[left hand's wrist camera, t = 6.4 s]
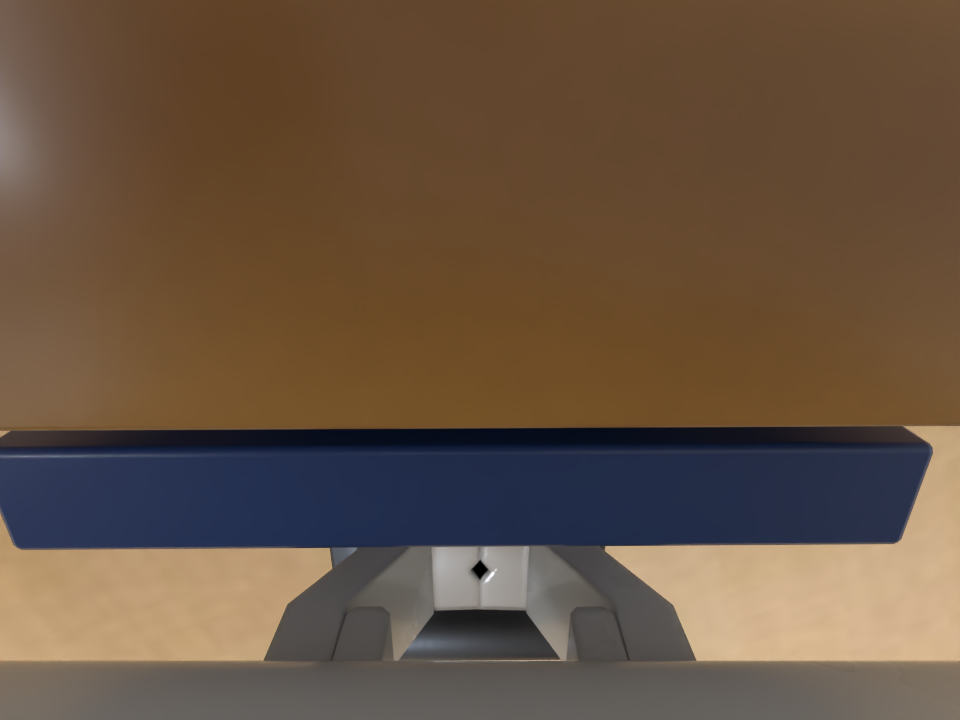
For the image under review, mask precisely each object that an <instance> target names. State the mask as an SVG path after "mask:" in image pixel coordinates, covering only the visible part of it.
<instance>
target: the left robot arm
mask: <svg viewBox="0 0 960 720" xmlns="http://www.w3.org/2000/svg"><path fill="white" fill-rule="evenodd" d="M471 609H488V610H524V611H526V613H527V614H528V616H529V617H530V618H531V620H532V621H533V622H534V624H535V625H536V626H537V628H538V629H539V631H540V632H541V633H542V635H543V636H544V637H545V639H546V640H547V641H548V643H549V644H550V645H551V647H552V648H553V649H554V651H555V652H556V653H557V655H558V656H559V657H560V659H561V660H562V661H398V660H399V659H400V658H401V656H402V655H403V654H404V652H405V651H406V650H407V648H408V647H409V646H410V644H411V643H412V642H413V640H414V639H415V638H416V636H417V635H418V634H419V632H420V631H421V630H422V628H423V627H424V626H425V624H426V623H427V622H428V620H429V619H430V618H431V616H432V615H433V614H434V611H436V610H471ZM0 720H960V661H696V659H695V656H694V654H693V651H692V649H691V647H690V644H689V642H688V640H687V637H686V635H685V633H684V630H683V628H682V625H681V623H680V621H679V618H678V616H677V614H676V611H675V609H674V606H673V605H672V604H671V603H670V602H668V601H667V600H666V599H665V598H663V597H662V596H661V595H659V594H658V593H657V592H656V591H654V590H653V589H652V588H651V587H649V586H648V585H647V584H646V583H644V582H643V581H642V580H641V579H639V578H638V577H637V576H636V575H634V574H633V573H632V572H630V571H629V570H628V569H627V568H625V567H624V566H623V565H622V564H620V563H619V562H618V561H617V560H615V559H614V558H613V557H612V556H610V555H609V554H608V553H607V552H605V551H604V550H603V549H601V548H600V547H599V546H511V547H361V548H358V549H357V550H356V551H355V552H353V553H352V554H351V555H350V556H348V557H347V558H346V559H345V560H343V561H342V562H341V563H339V564H338V565H337V566H336V567H334V568H333V569H332V570H331V571H329V572H328V573H327V574H326V575H324V576H323V577H322V578H320V579H319V580H318V581H317V582H315V583H314V584H313V585H312V586H310V587H309V588H308V589H307V590H305V591H304V592H303V593H301V594H300V595H299V596H298V597H296V598H295V599H294V600H293V601H291V602H290V603H289V604H288V605H287V607H286V609H285V612H284V614H283V616H282V619H281V621H280V623H279V626H278V628H277V630H276V633H275V635H274V637H273V640H272V642H271V644H270V647H269V649H268V651H267V654H266V656H265V658H264V661H0Z"/></svg>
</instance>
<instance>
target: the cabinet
mask: <svg viewBox="0 0 960 720" xmlns="http://www.w3.org/2000/svg"><path fill="white" fill-rule="evenodd" d="M822 426H960V0H0V431H47V430H241V429H434V428H628V427H822Z"/></svg>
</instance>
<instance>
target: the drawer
mask: <svg viewBox="0 0 960 720" xmlns="http://www.w3.org/2000/svg"><path fill="white" fill-rule="evenodd" d="M932 454H933V450H932V446H931V445H930V444H929V443H928V442H926V441H925V440H923V439H922V438H920V437H919V436H917V435H916V434H914V433H912V432H911V431H909V430H908V429H906V428H905V427H903V426H822V427H628V428H434V429H241V430H47V431H10V432H8V433H6V434H5V435H3V436H2V437H0V513H1V516H2V518H3V520H4V523H5V525H6V528H7V530H8V532H9V535H10V537H11V540H12V542H13V545H14V546H16V547H17V548H19V549H21V550H60V549H210V548H330V553H331V561H332V568H334V567H336V566H337V565H338V564H339V563H341V562H342V561H343V560H345V559H346V558H347V557H348V556H350V555H351V554H352V553H353V552H355V551H356V550H357V549H358V548H361V547H511V546H599V547H600V548H601V549H603V550H604V551H605V546H662V545H812V544H894V543H897V542H898V541H900V540H901V538H902V536H903V533H904V530H905V527H906V525H907V522H908V519H909V516H910V514H911V511H912V508H913V506H914V503H915V500H916V497H917V495H918V492H919V489H920V487H921V484H922V481H923V478H924V476H925V473H926V470H927V468H928V465H929V462H930V459H931V457H932ZM455 660H561V659H560V657H559V656H558V655H557V653H556V652H555V651H554V649H553V648H552V647H551V645H550V644H549V643H548V641H547V640H546V639H545V637H544V636H543V635H542V633H541V632H540V631H539V629H538V628H537V626H536V625H535V624H534V622H533V621H532V620H531V618H530V617H529V616H528V614H527V613H526V611H524V610H488V609H471V610H436V611H434V614H433V615H432V616H431V618H430V619H429V620H428V622H427V623H426V624H425V626H424V627H423V628H422V630H421V631H420V632H419V634H418V635H417V636H416V638H415V639H414V640H413V642H412V643H411V644H410V646H409V647H408V648H407V650H406V651H405V652H404V654H403V655H402V656H401V658H400V659H399V660H398V661H455Z"/></svg>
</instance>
